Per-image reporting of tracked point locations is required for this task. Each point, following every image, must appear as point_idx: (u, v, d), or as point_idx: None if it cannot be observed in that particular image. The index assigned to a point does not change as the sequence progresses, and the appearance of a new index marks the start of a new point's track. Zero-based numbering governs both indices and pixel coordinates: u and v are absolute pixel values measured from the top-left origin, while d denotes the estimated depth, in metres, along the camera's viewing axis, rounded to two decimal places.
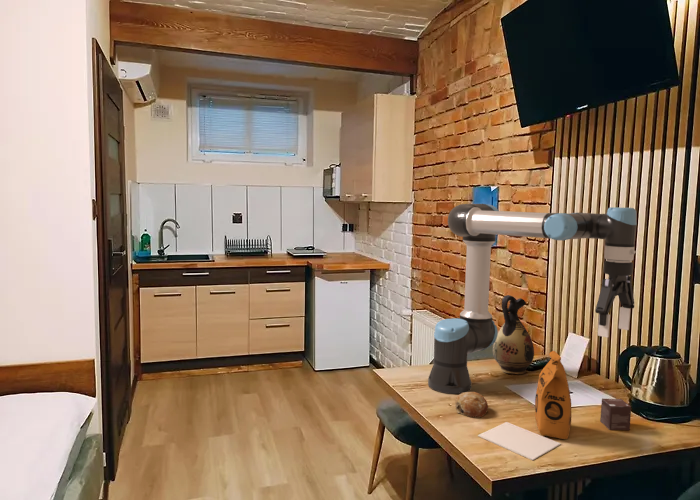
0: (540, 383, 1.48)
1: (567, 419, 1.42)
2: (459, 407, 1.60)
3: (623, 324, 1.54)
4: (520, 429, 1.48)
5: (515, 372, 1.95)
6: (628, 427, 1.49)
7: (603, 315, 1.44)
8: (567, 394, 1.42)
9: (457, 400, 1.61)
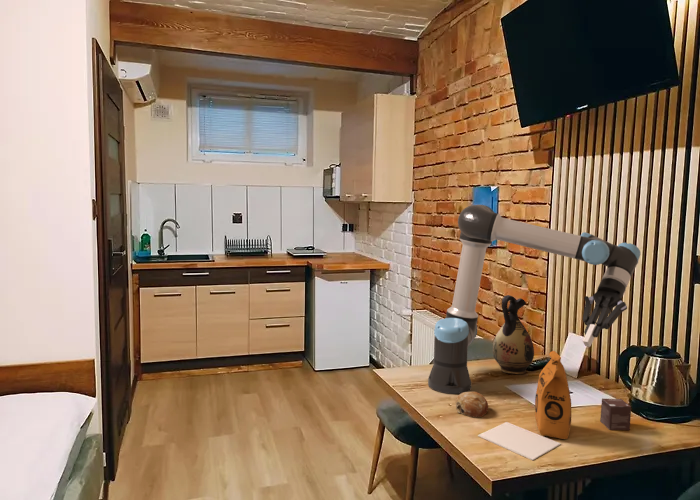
0: (540, 383, 1.48)
1: (567, 419, 1.42)
2: (459, 407, 1.60)
3: None
4: (520, 429, 1.48)
5: (515, 372, 1.95)
6: (628, 427, 1.49)
7: (600, 329, 1.57)
8: (567, 394, 1.42)
9: (457, 400, 1.61)
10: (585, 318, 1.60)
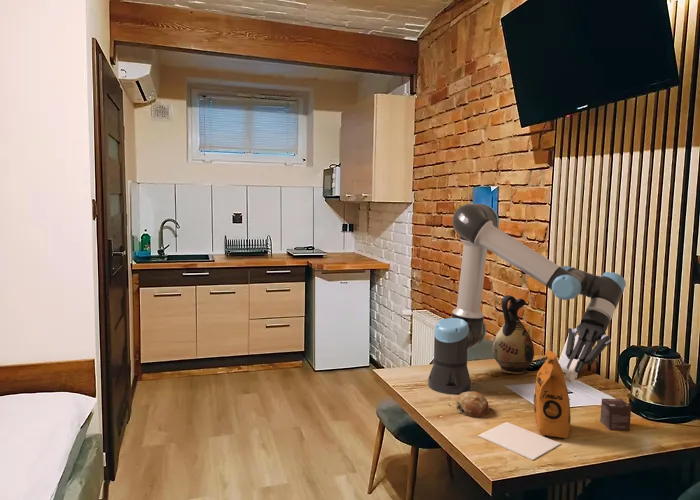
0: (537, 383, 1.49)
1: (566, 418, 1.42)
2: (460, 407, 1.60)
3: None
4: (520, 429, 1.48)
5: (515, 372, 1.95)
6: (628, 427, 1.49)
7: (583, 364, 1.51)
8: (564, 392, 1.42)
9: (458, 400, 1.61)
10: (568, 352, 1.55)
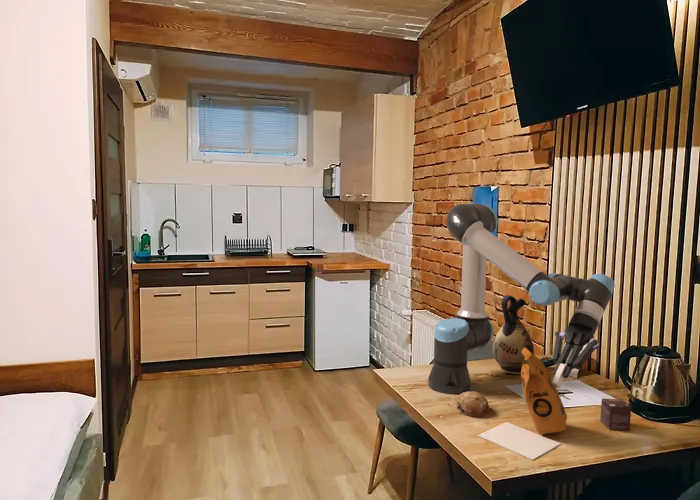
0: (522, 384, 1.49)
1: (558, 411, 1.42)
2: (460, 407, 1.60)
3: None
4: (520, 429, 1.48)
5: (515, 372, 1.95)
6: (628, 427, 1.49)
7: (571, 369, 1.46)
8: (548, 387, 1.42)
9: (458, 400, 1.61)
10: (555, 356, 1.50)
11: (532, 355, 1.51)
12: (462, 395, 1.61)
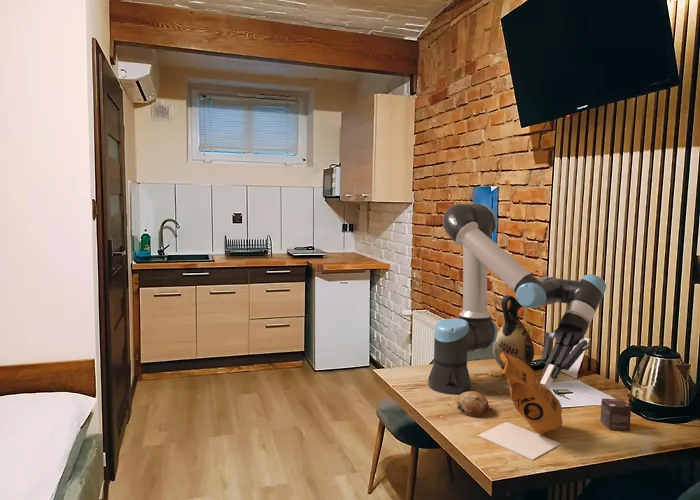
0: None
1: (549, 411, 1.40)
2: (460, 407, 1.60)
3: None
4: (520, 429, 1.48)
5: None
6: (628, 427, 1.49)
7: (560, 370, 1.44)
8: (533, 392, 1.40)
9: (458, 400, 1.61)
10: (544, 357, 1.47)
11: (511, 358, 1.48)
12: (462, 395, 1.61)
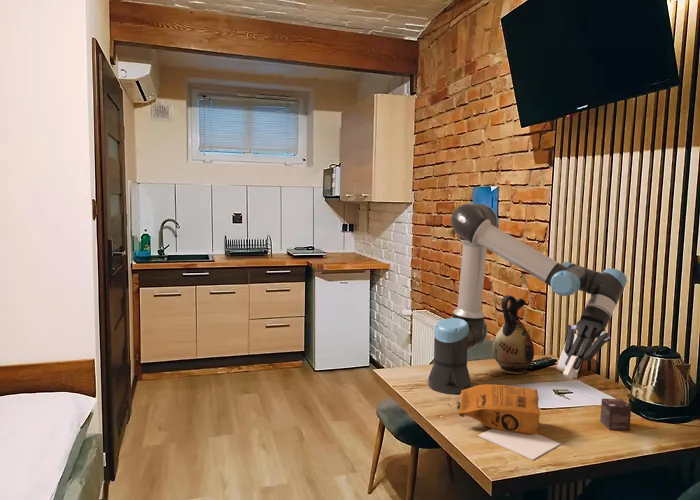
0: None
1: (517, 412, 1.43)
2: None
3: None
4: None
5: (515, 372, 1.95)
6: (628, 427, 1.49)
7: (582, 361, 1.50)
8: (492, 409, 1.45)
9: (458, 399, 1.62)
10: (566, 349, 1.54)
11: (469, 390, 1.56)
12: None
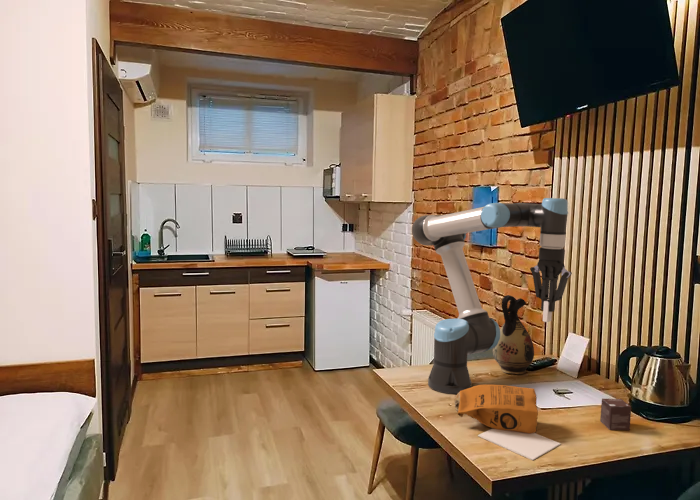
0: None
1: (516, 411, 1.44)
2: (458, 405, 1.62)
3: None
4: None
5: (515, 372, 1.95)
6: (628, 427, 1.49)
7: (554, 302, 1.61)
8: (490, 408, 1.46)
9: (456, 398, 1.63)
10: (537, 294, 1.64)
11: (467, 391, 1.57)
12: None
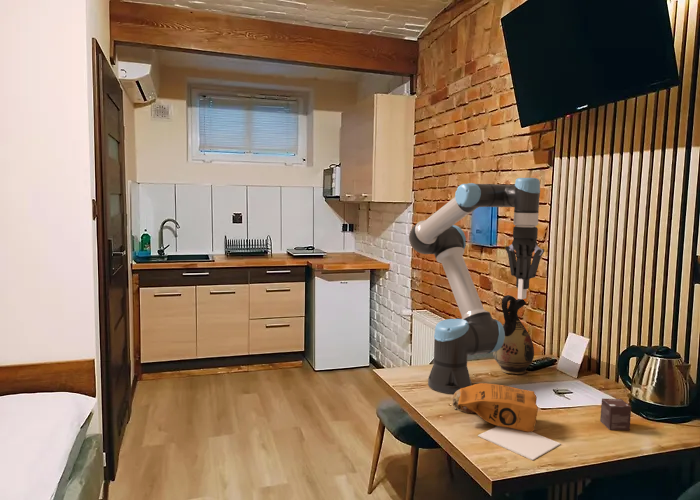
0: None
1: (516, 406, 1.46)
2: (456, 403, 1.63)
3: None
4: None
5: (515, 372, 1.95)
6: (628, 427, 1.49)
7: (529, 279, 1.65)
8: (491, 402, 1.48)
9: (454, 396, 1.64)
10: (512, 272, 1.68)
11: (468, 388, 1.59)
12: (458, 392, 1.64)
